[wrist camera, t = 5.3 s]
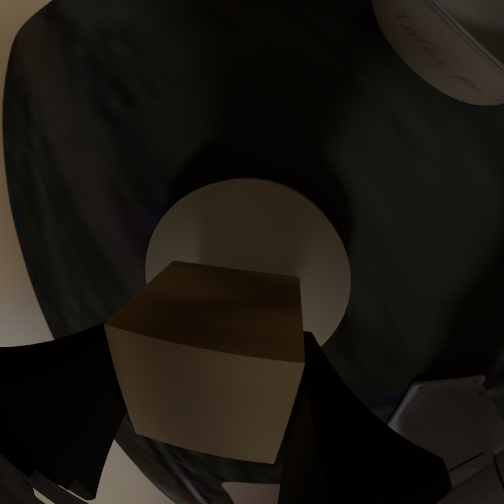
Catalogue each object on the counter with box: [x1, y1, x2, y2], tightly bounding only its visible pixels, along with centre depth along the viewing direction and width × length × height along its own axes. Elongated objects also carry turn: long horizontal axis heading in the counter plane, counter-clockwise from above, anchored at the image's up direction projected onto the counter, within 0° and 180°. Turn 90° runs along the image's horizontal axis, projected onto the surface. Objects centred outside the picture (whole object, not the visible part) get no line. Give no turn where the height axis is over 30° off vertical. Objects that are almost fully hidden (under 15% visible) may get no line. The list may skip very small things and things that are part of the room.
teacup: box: [372, 0, 504, 105], centre depth 6 cm, size 14×11×8 cm
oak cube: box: [104, 260, 305, 464], centre depth 9 cm, size 5×5×5 cm
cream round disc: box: [146, 177, 351, 346], centre depth 15 cm, size 11×11×3 cm
